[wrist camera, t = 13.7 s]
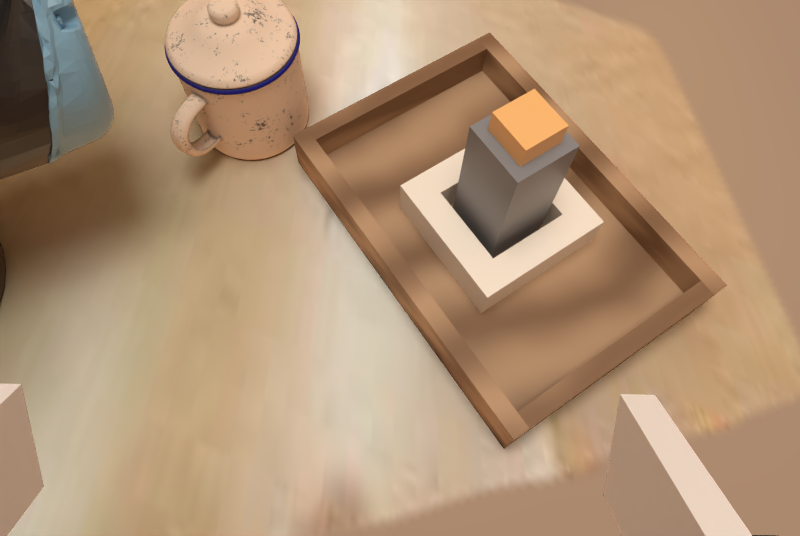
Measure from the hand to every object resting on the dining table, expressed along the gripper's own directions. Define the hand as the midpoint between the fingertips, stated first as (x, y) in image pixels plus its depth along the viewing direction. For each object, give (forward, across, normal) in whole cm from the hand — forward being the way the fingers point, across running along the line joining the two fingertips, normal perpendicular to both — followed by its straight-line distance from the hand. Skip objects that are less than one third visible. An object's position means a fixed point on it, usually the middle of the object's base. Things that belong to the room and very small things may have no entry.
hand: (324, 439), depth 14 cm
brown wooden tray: (+33, +9, -6) cm, 35 cm away
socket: (+33, +9, -6) cm, 35 cm away
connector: (+33, +9, -5) cm, 34 cm away
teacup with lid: (+40, -10, 0) cm, 41 cm away
